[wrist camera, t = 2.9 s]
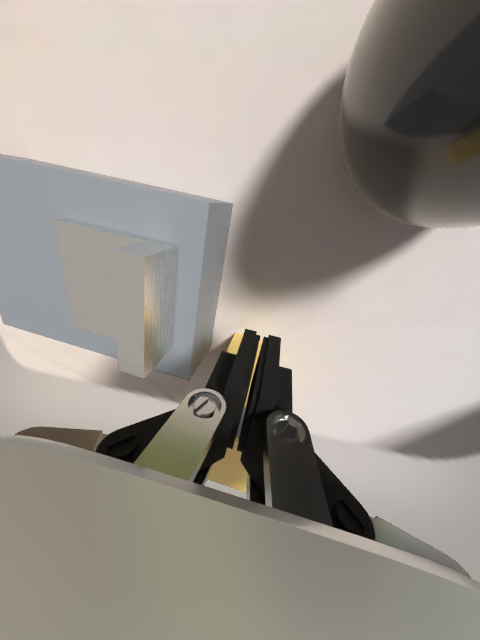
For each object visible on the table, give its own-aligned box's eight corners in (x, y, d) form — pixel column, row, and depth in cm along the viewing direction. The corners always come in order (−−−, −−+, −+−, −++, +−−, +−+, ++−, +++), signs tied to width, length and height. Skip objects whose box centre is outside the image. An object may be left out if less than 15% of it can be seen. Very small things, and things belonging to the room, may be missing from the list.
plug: (280, 344, 20) (268, 450, 12) (268, 380, 22) (250, 495, 13) (234, 332, 21) (189, 425, 12) (227, 368, 23) (183, 471, 14)
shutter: (177, 246, 13) (144, 257, 10) (171, 348, 16) (144, 378, 14) (66, 218, 14) (5, 222, 11) (81, 321, 17) (37, 345, 14)
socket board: (232, 203, 16) (209, 202, 12) (210, 345, 22) (189, 380, 18) (31, 159, 18) (-54, 144, 14) (58, 301, 24) (3, 323, 19)
